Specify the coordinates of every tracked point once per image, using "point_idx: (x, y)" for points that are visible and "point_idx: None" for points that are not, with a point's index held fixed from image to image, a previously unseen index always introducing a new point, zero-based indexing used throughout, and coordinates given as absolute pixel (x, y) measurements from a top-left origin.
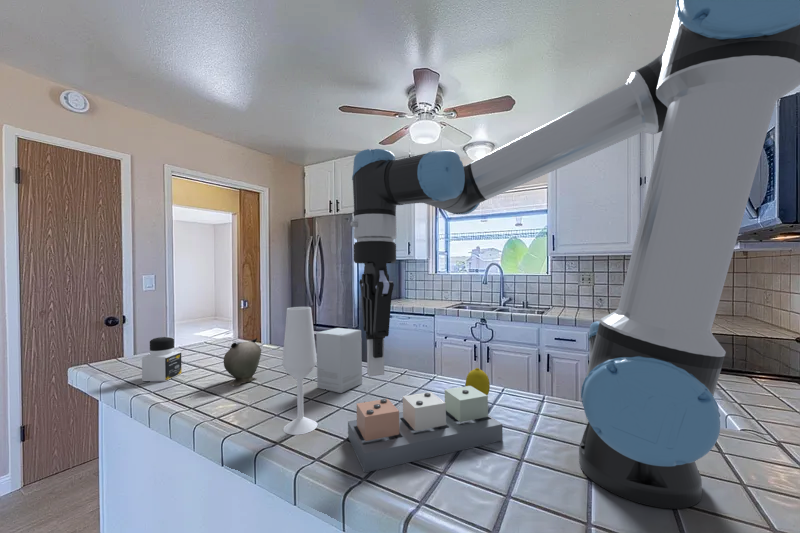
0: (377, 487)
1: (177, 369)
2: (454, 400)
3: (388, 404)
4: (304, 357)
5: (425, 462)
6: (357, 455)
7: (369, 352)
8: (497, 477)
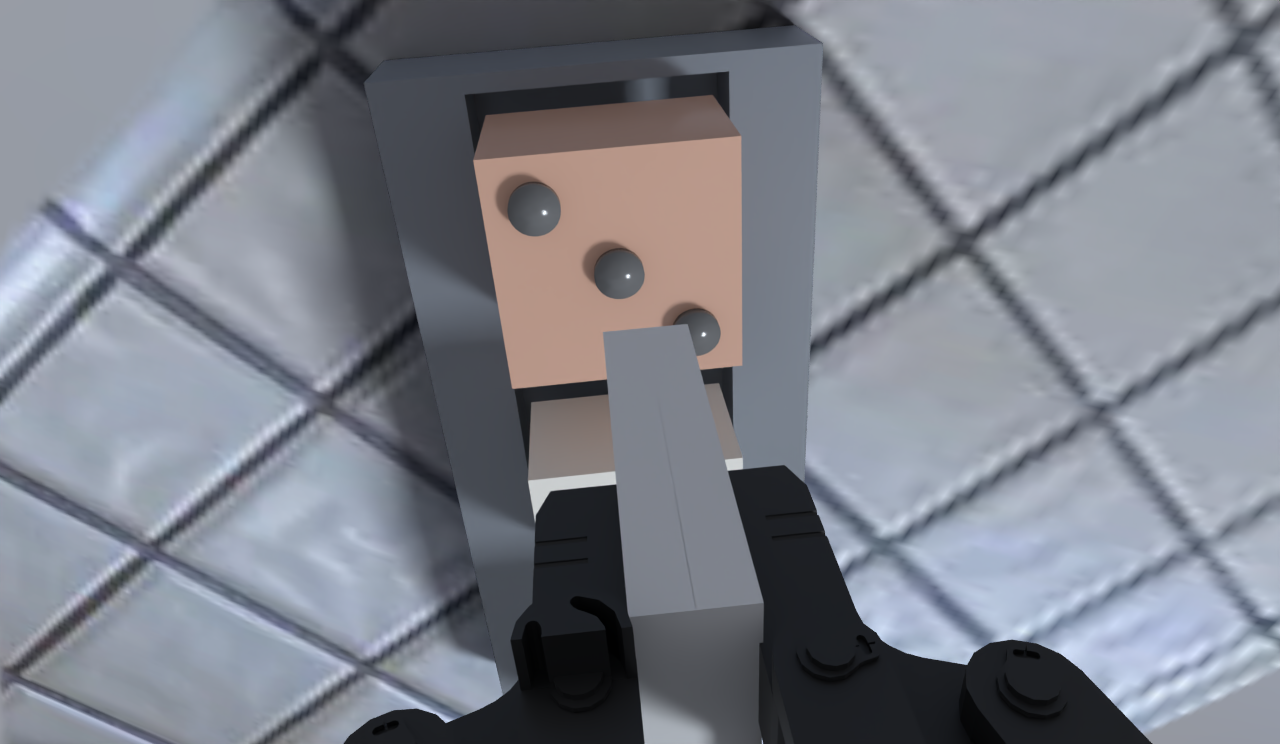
0: (248, 103)
1: None
2: None
3: None
4: None
5: (419, 362)
6: (543, 49)
7: (619, 483)
8: (266, 563)
